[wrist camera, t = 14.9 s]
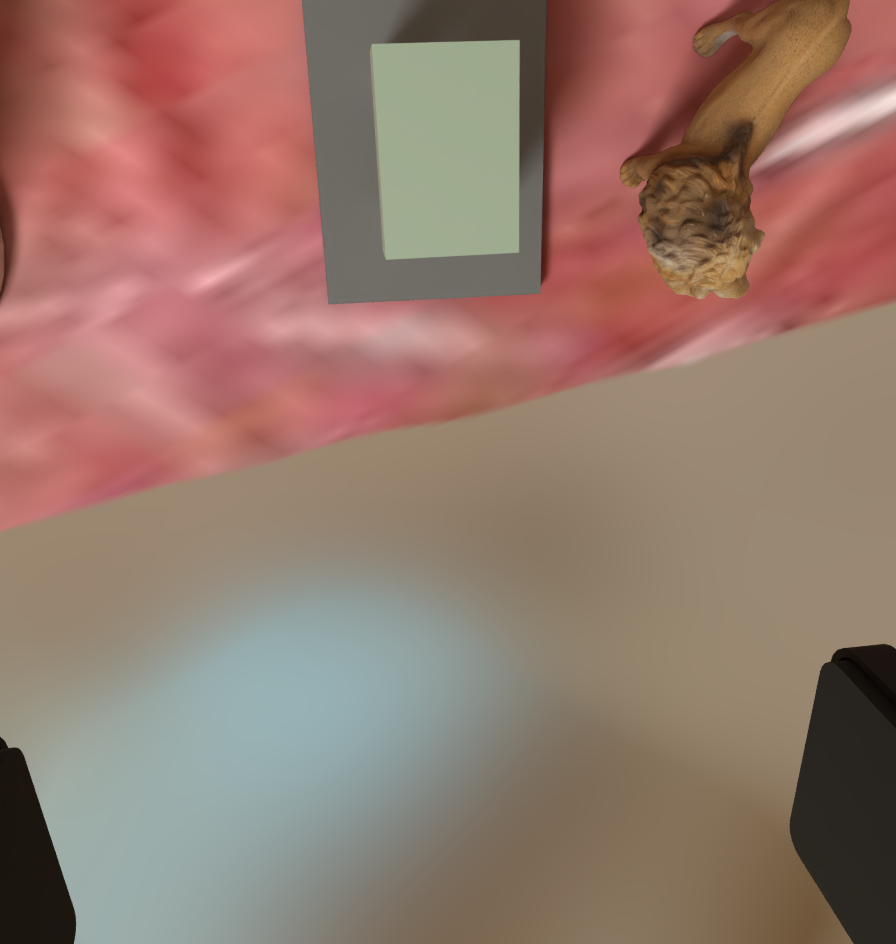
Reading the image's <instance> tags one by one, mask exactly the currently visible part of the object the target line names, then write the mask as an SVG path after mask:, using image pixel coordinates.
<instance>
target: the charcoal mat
mask: <svg viewBox="0 0 896 944" xmlns="http://www.w3.org/2000/svg"><path fill="white" fill-rule="evenodd" d="M302 7H303V18H304V30H305V41H306V52H307V64H308V75H309V87H310V98H311V109H312V121H313V132H314V143H315V155H316V166H317V178H318V189H319V200H320V212H321V223H322V234H323V246H324V257H325V269H326V280H327V291H328V303H329V304H345V303H365V302H385V301H405V300H425V299H445V298H465V297H485V296H506V295H526V294H540V287H541V241H542V195H543V150H544V104H545V58H546V12H547V0H302ZM501 40H520V69H519V253H503V254H485V255H466V256H447V257H428V258H410V259H391V260H386V259H385V256H384V252H383V244H382V229H381V214H380V199H379V184H378V169H377V154H376V139H375V124H374V109H373V94H372V79H371V64H370V48H371V45H372V44H390V43H427V42H464V41H501Z"/></svg>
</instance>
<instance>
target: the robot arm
mask: <svg viewBox="0 0 896 944" xmlns="http://www.w3.org/2000/svg"><path fill="white" fill-rule="evenodd" d="M3 277H4V243H3V238H2V233H1V228H0V291H1V287H2V282H3ZM790 834H791V838H792V842H793V844H794V847H795V850H796V851H797V854H798V855H799V857H800V859H801V860H802V862H803V863H804V865H805V867H806V868H807V870H808V871H809V873H810V875H811V876H812V878H813V879H814V881H815V883H816V884H817V886H818V887H819V889H820V891H821V892H822V894H823V895H824V897H825V899H826V900H827V902H828V903H829V905H830V906H831V908H832V910H833V911H834V913H835V914H836V916H837V918H838V919H839V921H840V922H841V924H842V926H843V927H844V929H845V931H846V932H847V934H848V935H849V937H850V938H851V940H852V941H853V943H854V944H896V649H895V648H894V647H892V646H890V645H886V644H880V645H870V646H860V647H851V648H842V649H839V650H837V651H836V652H835V653H834V654H833V656H832V659H831V662H828V663H825V664H824V665H823V666H822V668H821V671H820V675H819V680H818V685H817V689H816V694H815V700H814V705H813V709H812V714H811V719H810V724H809V729H808V734H807V739H806V744H805V749H804V754H803V759H802V764H801V769H800V773H799V778H798V783H797V788H796V794H795V798H794V803H793V808H792V813H791V818H790ZM75 932H76V916H75V911H74V907H73V904H72V901H71V898H70V896H69V892H68V889H67V886H66V883H65V880H64V877H63V874H62V871H61V868H60V865H59V862H58V859H57V855H56V852H55V849H54V846H53V843H52V840H51V837H50V834H49V831H48V828H47V825H46V822H45V819H44V816H43V813H42V810H41V807H40V803H39V800H38V798H37V795H36V792H35V788H34V785H33V782H32V779H31V776H30V773H29V770H28V767H27V764H26V761H25V758H24V755H23V753H22V751H21V750H20V749H19V748H8V746H7V744H6V742H5V741H4V740H3V739H2V738H1V737H0V944H74V939H75Z"/></svg>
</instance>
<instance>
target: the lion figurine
mask: <svg viewBox="0 0 896 944" xmlns="http://www.w3.org/2000/svg"><path fill="white" fill-rule="evenodd" d="M848 9H849V0H779V1H777V2H774V3H772V4H771V5H769V6H767V7H766V8H764V9H762V10H760V11H759V12H757V13H755V14H754V13H753V12H749V11H747V12H743V13H740V14H738V15H736V16H734V17H732V18H730V19H728V20H725V21H722V22H718V23H714V24H711V25H709V26H706V27H704V28H703V29H701V30H700V31H699V32H698V33H697V34H696V35H695V37H694V40H693V48H694V50H695V51H696V52H697V53H698V54H699V55H700V56H702V57H709V56H711V55H713V54H714V53H715V52H716V51H717V50H718V49H719V48H720V47H721V45H722V44H723V43H724V42H725V41H726V40H727V39H729V38H731V37H732V36H734V35H737V34H738V36H739V37H740V38H741V40H742V41H744V42H746V43H748V44H750V45H752V52H751V53H750V55H749V56H748V57H747V58H746V59H745V60H744V61H743V62H742V63H741V64H740V65H739V66H738V67H737V68H736V69H735V70H733V71H732V72H731V73H730V74H729V75H728V76H727V77H725V78H724V79H723V80H722V81H721V82H720V83H719V84H718V85H717V86H716V87H715V88H714V89H713V90H712V92H711V93H710V94H709V95H708V97H707V98H706V99H705V101H704V102H703V103H702V105H701V106H700V108H699V109H698V111H697V112H696V114H695V116H694V118H693V119H692V121H691V123H690V125H689V127H688V129H687V131H686V132H685V135H684V137H683V140H682V142H681V144H679V145H676V146H673V147H670V148H668V149H666V150H664V151H662V152H659V153H656V154H653V155H647V156H639V157H636V158H633V159H630V160H628V161H626V162H625V163H624V164H623V165H622V166H621V168H620V178H621V180H622V182H623V184H625V185H627V186H630V187H632V188H636V187H637V186H638V185H639V184H640V183H641V182H642V181H647V184H646V186H645V187H644V188H643V190H642V191H641V192H640V194H639V203H640V205H641V207H642V212H641V213H640V214H639V218H638V222H639V224H640V227H641V229H642V231H643V235H644V239H645V240H646V242H647V248H648V251H649V253H650V254H651V258H652V259H653V262H654V266H655V267H656V268H657V270H658V272H659V273H660V275H661V277H662V279H663V280H664V281H665V283H667V285H668V287H669V288H670V289H672V290H673V291H674V292H675V293H676V294H684V295H690V296H694V297H695V298H697V299H703V298H705V297H706V296H707V295H708V294H709V293H710V291H714V293H715V294H716V295H717V296H719V297H723V298H735V299H736V298H739V297H742V296H743V295H745V294H746V293H747V291H748V289H749V282H748V281H747V277H746V271H747V268H748V265H749V261H750V259H751V255H753V254H754V253H756V252H757V251H758V250H759V248H760V245H761V242H762V241H763V238H764V235H765V234H764V232H763V231H761V230H758V229H756V228H755V220H754V217H753V215H752V213H751V210H750V203H751V198H750V195H751V194H752V192H753V185H752V183H751V181H750V179H749V171H750V167H751V166H752V165H753V163H754V162H755V161H756V160H757V158H758V157H759V156H760V155H761V153H762V152H763V151H764V149H765V148H766V146H767V145H768V143H769V142H770V140H771V138H772V137H773V135H774V134H775V132H776V130H777V129H778V127H779V125H780V123H781V121H782V119H783V118H784V116H785V114H786V112H787V111H788V109H789V107H790V106H791V104H792V103H793V101H794V100H795V99H796V97H797V96H798V95H799V94H800V92H801V91H802V90H803V89H804V88H805V87H806V86H808V85H809V84H810V83H811V82H813V81H814V80H815V79H817V78H818V77H820V76H821V75H822V74H824V73H825V72H827V71H828V70H829V69H830V68H831V67H832V66H833V65H834V64H835V63H836V62H837V61H838V59H839V58H840V56H841V54H842V52H843V50H844V48H845V46H846V44H847V41H848V39H849V36H850V34H851V24H850V21H849V20H848V19H847V13H848Z"/></svg>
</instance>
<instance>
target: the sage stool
mask: <svg viewBox="0 0 896 944" xmlns="http://www.w3.org/2000/svg"><path fill="white" fill-rule="evenodd" d="M370 64H371V79H372V94H373V109H374V124H375V139H376V154H377V169H378V184H379V199H380V214H381V229H382V244H383V252H384V256H385V259H386V260H391V259H410V258H428V257H447V256H466V255H485V254H503V253H519V69H520V40H501V41H464V42H427V43H390V44H372V45H371V48H370Z"/></svg>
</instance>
